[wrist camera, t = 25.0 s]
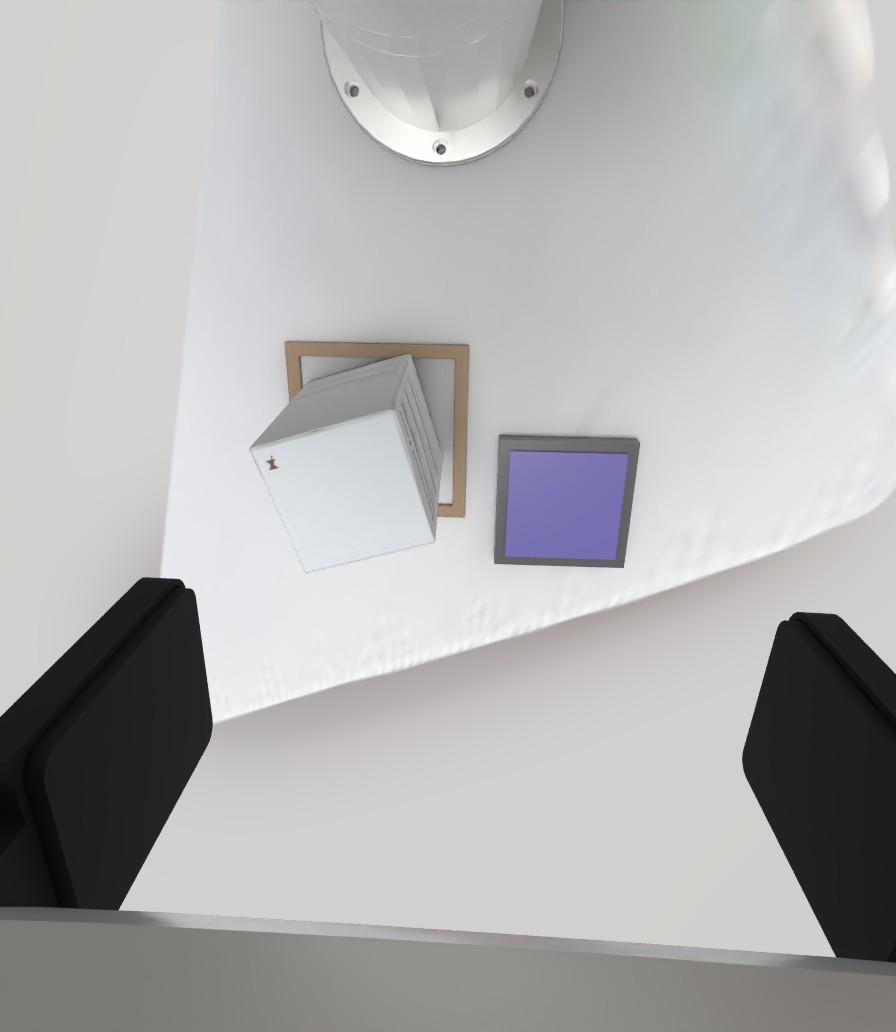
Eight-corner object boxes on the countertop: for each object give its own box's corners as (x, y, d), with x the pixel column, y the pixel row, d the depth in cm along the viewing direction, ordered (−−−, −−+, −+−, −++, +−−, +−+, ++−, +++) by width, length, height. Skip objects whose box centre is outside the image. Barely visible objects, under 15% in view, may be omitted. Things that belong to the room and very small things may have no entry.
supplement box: (343, 482, 44) (299, 578, 33) (305, 379, 41) (242, 445, 30) (446, 457, 43) (437, 546, 32) (415, 350, 40) (393, 406, 29)
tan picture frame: (286, 341, 41) (284, 342, 40) (468, 345, 40) (468, 346, 40) (300, 510, 45) (298, 512, 45) (464, 515, 45) (464, 517, 44)
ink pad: (499, 435, 42) (500, 440, 41) (636, 438, 42) (640, 443, 41) (494, 557, 46) (494, 565, 45) (620, 561, 46) (624, 569, 44)
